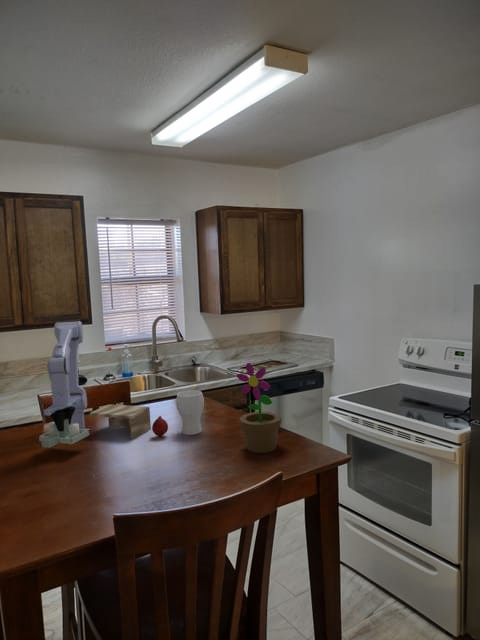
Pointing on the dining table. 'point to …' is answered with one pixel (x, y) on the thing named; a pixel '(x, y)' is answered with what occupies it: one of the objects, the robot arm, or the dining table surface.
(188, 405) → the cup
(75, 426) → the white egg
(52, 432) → the grey rounded piece
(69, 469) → the dining table surface
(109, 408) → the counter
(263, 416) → the flowerpot
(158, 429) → the onion
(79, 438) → the tray
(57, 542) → the dining table surface
